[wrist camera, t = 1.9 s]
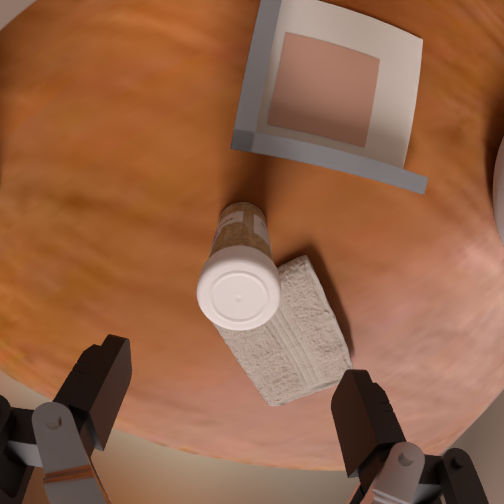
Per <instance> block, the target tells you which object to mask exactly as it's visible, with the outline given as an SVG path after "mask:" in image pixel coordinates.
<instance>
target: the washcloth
mask: <svg viewBox="0 0 504 504" xmlns="http://www.w3.org/2000/svg"><path fill="white" fill-rule="evenodd" d="M277 270H278V273H279V278H280V283H281V301H280V305H279V307H278V309H277V311H276V312H275V314H274V315H273V316H272V317H271V318H270V319H269V320H268V321H267V322H266V323H264V324H262V325H261V326H258V327H256V328H253V329H249V330H230V329H226V328H223V327H221V326H219V325H217V324H215V323H214V322H212V323H213V325H214V326H215V327H216V329H217V330H218V331H219V334H220V335H221V336H222V337H223V340H224V342H225V343H226V344H227V345H228V347H229V348H230V349H231V351H232V353H233V354H234V355H235V357H236V359H237V362H238V363H240V365H241V366H242V367H243V368H244V371H246V374H247V376H249V378H250V379H251V380H252V382H253V384H254V385H255V386H256V387H257V389H258V391H259V392H260V394H261V396H262V397H263V398H264V400H265V401H266V402H267V404H269V405H271V406H276V405H278V406H284V405H285V404H286V403H288V402H289V401H292V400H295V399H297V398H300V397H303V396H306V395H309V394H312V393H315V392H318V391H321V390H324V389H327V388H330V387H332V386H334V385H337V384H339V383H340V381H341V379H342V377H343V374H344V373H345V371H346V370H347V369H353V364H352V361H351V358H350V355H349V352H348V347H347V344H346V342H345V339H344V336H343V334H342V332H341V330H340V328H339V325H338V323H337V320H336V317H335V314H334V313H333V311H332V309H331V307H330V305H329V302H328V300H327V298H326V296H325V293H324V291H323V288H322V286H321V284H320V282H319V279H318V277H317V276H316V273H315V271H314V268H313V266H312V264H311V262H310V260H309V258H308V256H307V255H303V256H301V257H297V258H295V259H294V260H291V261H289V262H287V263H285V264H282V265H281V266H279V267H278V268H277Z"/></svg>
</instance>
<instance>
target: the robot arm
mask: <svg viewBox="0 0 504 504" xmlns="http://www.w3.org/2000/svg"><path fill="white" fill-rule="evenodd" d="M131 375H132V365H131V353H130V341H129V339H128V338H123V337H119V336H115V335H111V334H109V335H108V336H107V337H106V339H105V340H104V342H103V344H102V345H101V346H99V345H95V344H93V345H92V346H91V347H89V348H88V349H86V350H85V351H83V353H82V354H81V356H80V358H79V359H78V361H77V363H76V364H75V365H74V367H73V369H72V371H71V372H70V374H69V375H68V377H67V378H66V380H65V382H64V383H63V385H62V387H61V388H60V390H59V392H58V393H57V395H56V397H55V398H54V400H53V401H52V402H47V403H44V404H42V405H40V406H38V407H37V408H36V409H35V410H29V409H21V408H14V407H11V406H10V404H9V402H8V401H7V399H6V398H4V397H3V396H1V395H0V504H22V501H23V498H24V495H25V492H26V489H27V486H28V484H29V480H30V478H31V475H32V472H33V470H34V467H35V466H38V467H43V468H44V472H45V478H44V479H43V482H44V487H45V490H46V493H47V496H48V498H49V501H50V504H112V503H111V501H110V499H109V497H108V495H107V493H106V491H105V489H104V487H103V485H102V483H101V480H100V478H99V476H98V474H97V472H96V469H95V467H94V465H93V462H92V460H91V455H92V452H93V450H94V448H95V449H98V450H101V451H104V448H105V446H106V443H107V440H108V437H109V435H110V432H111V429H112V427H113V424H114V422H115V419H116V417H117V414H118V411H119V409H120V406H121V404H122V401H123V399H124V396H125V394H126V391H127V389H128V386H129V384H130V380H131ZM331 411H332V415H333V419H334V423H335V427H336V431H337V435H338V439H339V443H340V447H341V451H342V455H343V459H344V463H345V468H346V472H347V476H348V478H352V477H359V479H360V483H359V484H358V485H357V486H356V488H355V490H354V492H353V493H352V495H351V497H350V498H349V500H348V502H347V504H442V502H441V499H440V497H441V496H442V495H444V498H445V501H446V504H489V503H488V500H487V497H486V495H485V492H484V490H483V487H482V484H481V482H480V479H479V477H478V475H477V472H476V470H475V468H474V465H473V463H472V461H471V458H470V457H469V455H468V454H467V453H466V452H465V451H463V450H462V449H459V448H452V449H449V450H448V451H447V452H446V453H445V454H444V455H443V456H433V455H425V454H424V453H423V452H422V450H421V449H420V448H419V447H418V446H417V445H415V444H413V443H410V442H407V441H406V439H405V437H404V434H403V432H402V429H401V427H400V425H399V422H398V420H397V418H396V415H395V413H394V412H393V408H392V406H391V404H389V399H388V397H387V395H386V393H385V391H384V390H383V389H382V388H381V387H380V386H379V385H378V384H377V383H373V382H372V380H371V378H370V375H369V373H368V371H367V370H355V369H347V370H346V371H345V373H344V374H343V377H342V379H341V381H340V383H339V385H338V387H337V389H336V391H335V393H334V395H333V397H332V401H331Z"/></svg>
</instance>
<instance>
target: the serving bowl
mask: <svg viewBox="0 0 504 504" xmlns="http://www.w3.org/2000/svg"><path fill="white" fill-rule="evenodd" d="M493 208H494V216H495V222H496V226H497V230H498V234H499V237H500V240H501V242H502V244H503V247H504V137H503V139H502V142H501V144H500V147H499V150H498V154H497V158H496V163H495V168H494V177H493Z"/></svg>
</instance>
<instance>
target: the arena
mask: <svg viewBox="0 0 504 504" xmlns="http://www.w3.org/2000/svg"><path fill="white" fill-rule="evenodd" d="M422 45H423V40H422V39H420V38H418V37H416V36H414V35H412V34H410V33H408V32H406V31H403V30H401V29H399V28H397V27H394V26H392V25H389V24H387V23H385V22H382V21H379V20H377V19H374V18H372V17H369V16H366V15H363V14H361V13H358V12H355V11H352V10H349V9H346V8H342V7H339V6H336V5H332V4H329V3H325V2H322V1H318V0H261V2H260V6H259V10H258V15H257V19H256V24H255V28H254V32H253V37H252V42H251V46H250V51H249V56H248V60H247V65H246V70H245V75H244V80H243V85H242V90H241V95H240V100H239V105H238V110H237V116H236V121H235V126H234V132H233V137H232V143H231V149H235V150H241V151H247V152H253V153H258V154H264V155H269V156H274V157H279V158H284V159H289V160H294V161H299V162H303V163H308V164H313V165H317V166H321V167H326V168H330V169H334V170H338V171H342V172H346V173H350V174H354V175H358V176H361V177H365V178H369V179H372V180H376V181H380V182H383V183H387V184H390V185H393V186H397V187H400V188H403V189H407V190H410V191H413V192H416V193H419V194H423V195H424V193H425V189H426V185H427V181H428V178H427V177H424V176H422V175H419V174H416V173H413V172H410V171H407V170H404V169H403V167H404V162H405V158H406V153H407V148H408V143H409V138H410V133H411V128H412V122H413V116H414V110H415V104H416V97H417V90H418V83H419V75H420V66H421V56H422Z"/></svg>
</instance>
